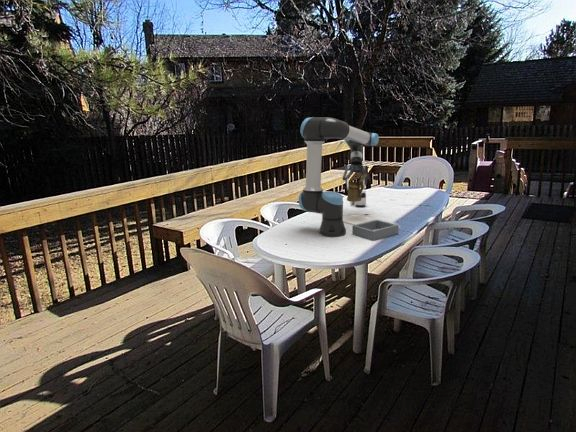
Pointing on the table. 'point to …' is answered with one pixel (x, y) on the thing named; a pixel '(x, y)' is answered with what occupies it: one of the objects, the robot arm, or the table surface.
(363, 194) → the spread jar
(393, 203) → the table surface
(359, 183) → the wooden mug
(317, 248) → the table surface
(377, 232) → the hollow square frame
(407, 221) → the table surface
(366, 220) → the cream board
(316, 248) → the table surface
